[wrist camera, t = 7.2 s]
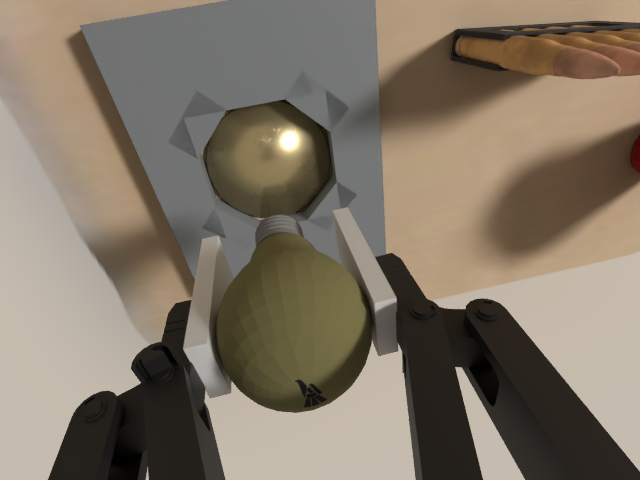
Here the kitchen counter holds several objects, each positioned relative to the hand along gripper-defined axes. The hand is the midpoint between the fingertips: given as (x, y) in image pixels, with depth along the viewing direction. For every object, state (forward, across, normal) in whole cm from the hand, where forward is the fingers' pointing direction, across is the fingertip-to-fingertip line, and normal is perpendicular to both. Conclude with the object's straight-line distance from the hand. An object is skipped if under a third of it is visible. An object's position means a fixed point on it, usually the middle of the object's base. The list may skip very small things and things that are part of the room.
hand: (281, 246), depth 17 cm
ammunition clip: (+11, +19, +5) cm, 23 cm away
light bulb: (+2, 0, 0) cm, 2 cm away
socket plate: (+11, 0, 0) cm, 11 cm away
